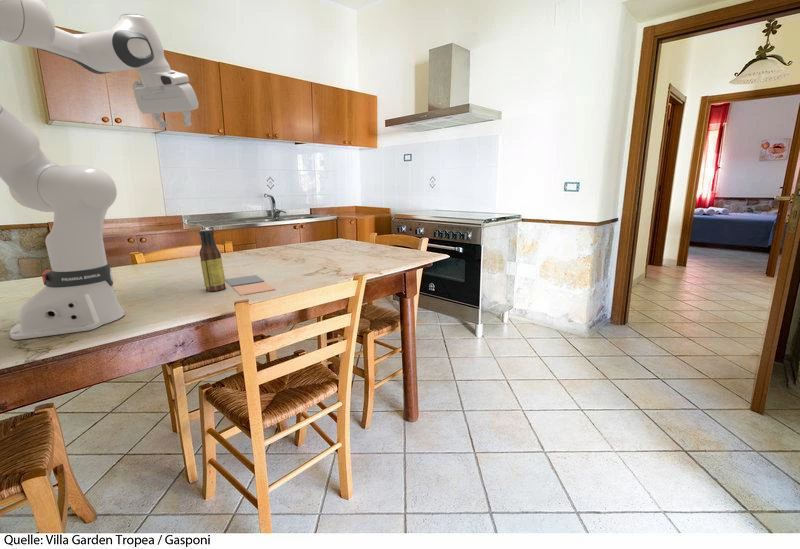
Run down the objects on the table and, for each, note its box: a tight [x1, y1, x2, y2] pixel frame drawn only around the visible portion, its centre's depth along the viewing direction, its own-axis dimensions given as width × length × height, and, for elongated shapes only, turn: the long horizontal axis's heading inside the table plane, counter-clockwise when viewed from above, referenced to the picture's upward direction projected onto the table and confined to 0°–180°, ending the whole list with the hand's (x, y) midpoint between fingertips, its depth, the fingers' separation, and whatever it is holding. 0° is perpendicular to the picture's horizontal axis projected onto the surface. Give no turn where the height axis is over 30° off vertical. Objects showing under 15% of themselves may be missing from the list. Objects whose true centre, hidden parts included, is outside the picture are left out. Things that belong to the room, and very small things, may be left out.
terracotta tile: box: [232, 281, 276, 297], centre depth 129 cm, size 11×11×1 cm
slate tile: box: [225, 274, 265, 288], centre depth 140 cm, size 11×11×1 cm
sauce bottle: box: [198, 228, 227, 292], centre depth 127 cm, size 7×6×20 cm
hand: (176, 126), depth 125 cm, fingers open, 8 cm apart
